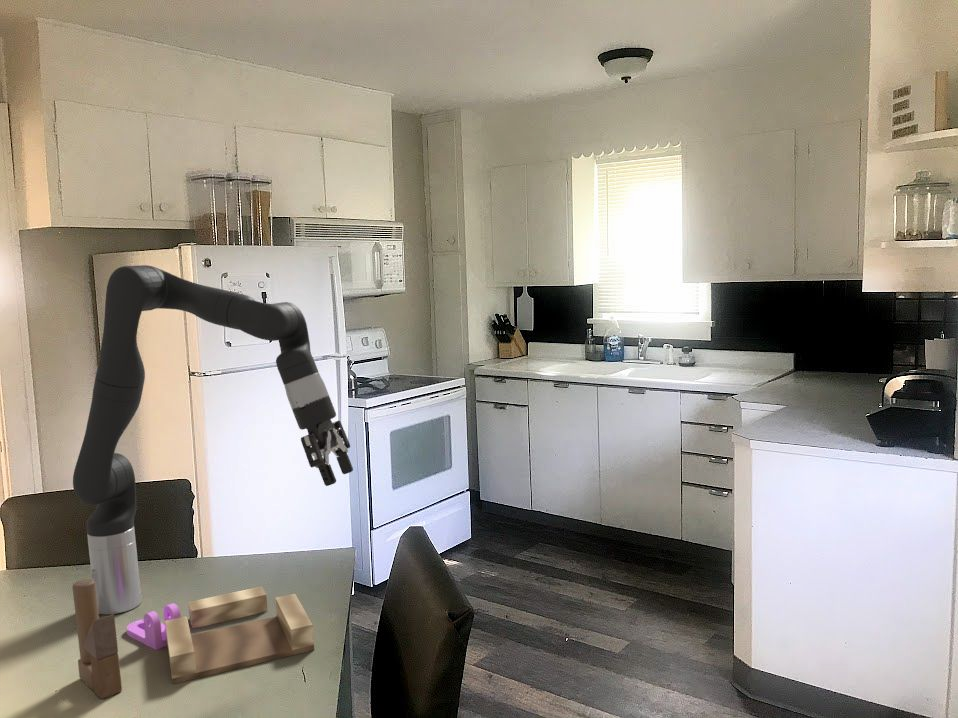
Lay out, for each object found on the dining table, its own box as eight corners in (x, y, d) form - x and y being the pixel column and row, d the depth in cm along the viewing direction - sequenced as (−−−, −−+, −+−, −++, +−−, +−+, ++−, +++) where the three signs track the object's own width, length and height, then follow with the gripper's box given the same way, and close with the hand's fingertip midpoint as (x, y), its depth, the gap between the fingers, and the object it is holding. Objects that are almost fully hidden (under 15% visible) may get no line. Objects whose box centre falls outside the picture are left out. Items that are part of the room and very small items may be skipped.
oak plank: (192, 629, 160) (191, 611, 160) (189, 620, 165) (188, 602, 164) (267, 612, 167) (266, 594, 166) (262, 603, 171) (261, 586, 171)
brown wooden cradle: (172, 684, 139) (170, 657, 138) (167, 645, 153) (164, 620, 153) (314, 649, 149) (312, 624, 148) (296, 616, 164) (295, 593, 163)
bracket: (182, 639, 156) (179, 605, 155) (156, 650, 152) (152, 616, 151) (148, 622, 164) (145, 590, 163) (122, 633, 160) (118, 600, 159)
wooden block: (101, 700, 135) (90, 599, 132) (79, 678, 142) (68, 582, 140) (123, 691, 137) (112, 592, 135) (100, 670, 145) (90, 576, 143)
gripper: (309, 400, 161) (337, 474, 162) (276, 413, 148) (307, 494, 148) (341, 388, 160) (369, 463, 160) (310, 400, 146) (342, 482, 146)
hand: (340, 478), depth 154 cm, fingers open, 8 cm apart
